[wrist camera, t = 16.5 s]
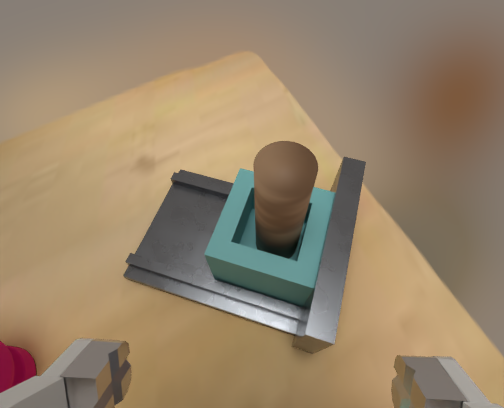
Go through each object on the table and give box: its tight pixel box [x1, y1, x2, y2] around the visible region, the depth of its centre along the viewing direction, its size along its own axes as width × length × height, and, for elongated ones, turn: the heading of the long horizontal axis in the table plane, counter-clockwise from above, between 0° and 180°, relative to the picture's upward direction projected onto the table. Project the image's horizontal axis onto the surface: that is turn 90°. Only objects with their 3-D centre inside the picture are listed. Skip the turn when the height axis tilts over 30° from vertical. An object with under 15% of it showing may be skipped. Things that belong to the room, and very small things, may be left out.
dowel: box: [254, 141, 318, 259], centre depth 24 cm, size 4×4×12 cm
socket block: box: [204, 168, 335, 307], centre depth 29 cm, size 9×9×7 cm
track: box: [123, 157, 366, 354], centre depth 30 cm, size 20×16×9 cm
